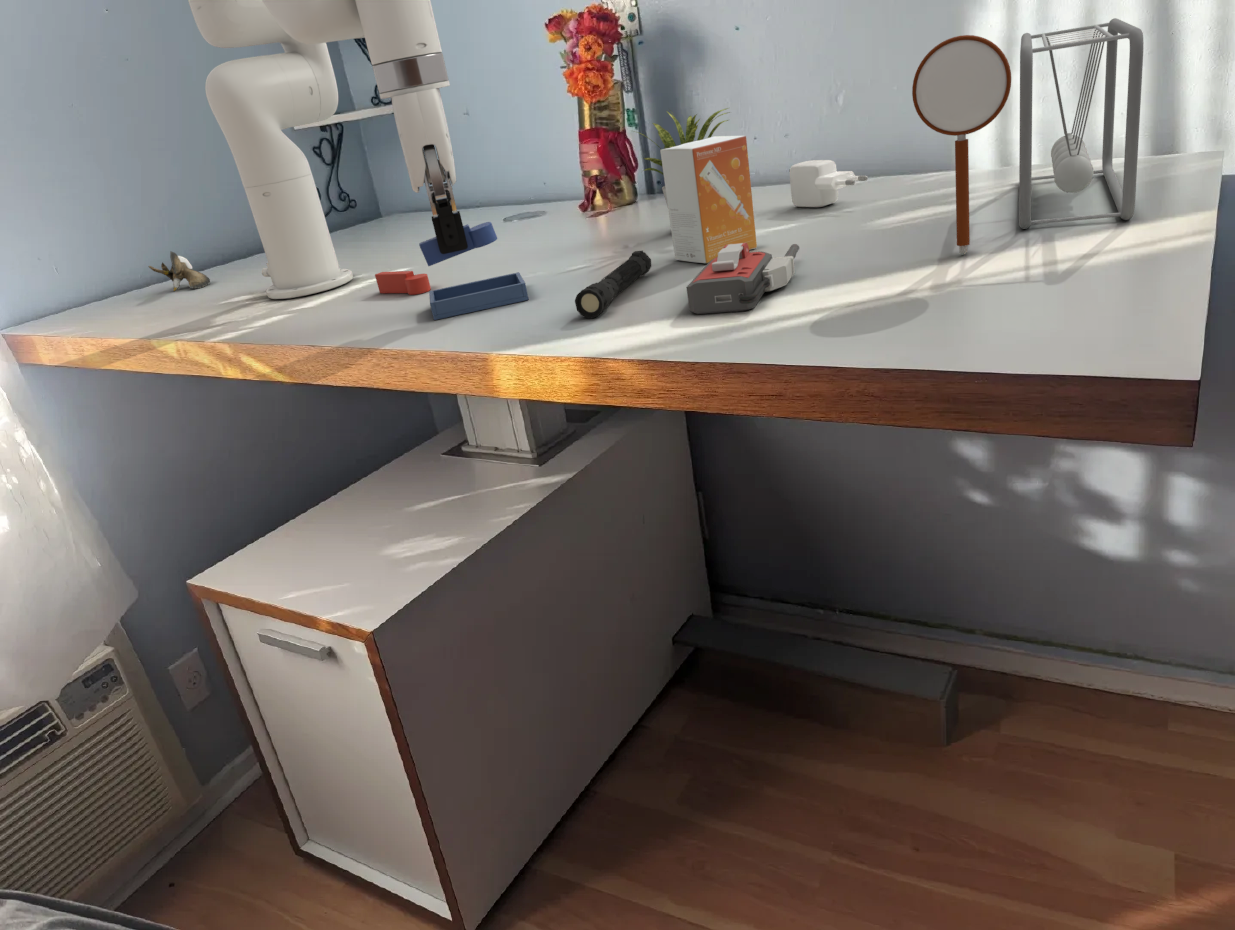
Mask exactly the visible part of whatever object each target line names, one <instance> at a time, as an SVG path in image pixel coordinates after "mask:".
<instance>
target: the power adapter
mask: <svg viewBox="0 0 1235 930" xmlns="http://www.w3.org/2000/svg"><path fill="white" fill-rule="evenodd" d="M868 179H869V177H868V175H856V174H855V173H854V171H852V170H838V169H837V164H836V162H835V161H834V160H831V159H817V160H816V159H815V160H814V159H811V160H805V161H801V162H798V163H794V164H793V165H791V166H790V168H789V184H790V195H791V200H792V201H791V202H792V204H793V205H794V206H795V207H797V208H822V207H826V206H829V205H832V204H834V203H836V202H837V201H838V199H839V190H840V189H842V188H846V187H850V186H854V185H855V184H856V182H866V181H868Z"/></svg>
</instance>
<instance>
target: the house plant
mask: <svg viewBox="0 0 1235 930" xmlns="http://www.w3.org/2000/svg"><path fill="white" fill-rule="evenodd" d="M728 109H729V107H727V108H723V109H720V110H717V111H715V112H714V113H712V114H711V115H710V116H709V117H708V118H707V119H706V120H705V122H704V123H703V125H702V127H701V128H700V130H699V133H698V136H697V139H696V141H698V140H703V139H705V137H706V135H707V132H708V130H709V127H710V126H711V124H712V123H713V121H714V120H716V119H717V118H719V117H721V116H723V115H727V114H730V113H731V111H729V112H724V113H721V112H723V111H726V110H728ZM668 110H669V111H670V112H671V113H670V112H669V111H667V114H668V115H669V116H670V117H671V118H672V120H673V122H674V123H675V126H676V129H677V133H678V137H679V141H680V142H679V143H680V145H682V144H685V143H689V142H694V141H695V138H696V131H697V129H698V127H699V126H698V125H699V124H698V123H699V121H700V119H701V118H698V120H697V121H695V120H696V117H697V114H695V115H693V116H692V115H689V116H688V118H687V119H686V129H685V133H684V130H683V127H682V125H681V124H680V122H679V120H678V119H677V118H676V116H675V115H674V113H673V112H672V110H671V109H670V108H669V107H668ZM720 113H721V114H720ZM718 114H719V115H718ZM728 121H729V119H726V120H722V121H719V122H718V123H716V125H714V127H713V128H712V129H711V131H710V132H709V134H708V136H707V138H710V137H713V135H714V133H715V131H716V130H717V129H718V127H720V125H722V124H723V123H725V122H728ZM652 125H653V126H654V128H656V131H657V133H658V136H659V138H660V141H661V143H663V145H664V147H663V148H662V147H660V146H659V145H658V144H657V143H656V142H655V141H654V140H652V139H651V138H650V137H648V136H646V135H645V134H643V133H641V132H638V131H633V130H632V132H633V133H634V132H635V133H638V134H640V135H641V136H643V137H646V138H647V139H649V140H650V141H651V142H652V143H653V144H654V145H656V146H657V147H658V148H659V149H660V150H662V149H666V148H670V147H675V146H677V145H676V142H675V140H674V138H673V137H672V135H671V133H670V132H669V131H668V130H666V129H665V128H663V127H662V126H661V125H660V124H658V123H654V122H652ZM642 159H644V160H646V161H650V162H651V163H653V164H655V165H658V166H660V167H662V168H663V166H662V159H661V158H660V159H659V158H655V157H644V158H642ZM643 171H653V172H657V173H659V174H661V175H662V176H664V174H663V171H661V170H659V169H657V168H654V167H647V168H645V169H643V170H642V172H643ZM661 190H662V193H663V196H664V200H665V203H666V206H667V208H668V203H667V195H666V188H665V185H663V186H662V187H661Z"/></svg>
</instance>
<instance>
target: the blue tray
mask: <svg viewBox="0 0 1235 930" xmlns="http://www.w3.org/2000/svg"><path fill="white" fill-rule="evenodd" d="M428 294H429V306H430V310H431V314H432V317H433V318H432V319H433V320H434V321H436V320H437V321H438V320H443V319H446V318H451V317H455V316H460V315H464V314H469V313H474V312H479V311H484V310H488V309H493V308H497V307H502V306H507V305H513V304H516V303H521V302H526V301H529V295H528V290H527V285H526V282H525V280H524V278H523V277H522V275H521V273H520V272H517V271H516V272H512V273H507V274H503V275H499V276H495V277H488V278H485V279H480V280H475V281H471V282H465V283H461V284H456V285H452V286H447V287H441V288H437V289H433V290H432V289H431V290H430V291H428Z"/></svg>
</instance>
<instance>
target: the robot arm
mask: <svg viewBox="0 0 1235 930" xmlns="http://www.w3.org/2000/svg"><path fill="white" fill-rule="evenodd" d="M187 1H188V5H189V7H190V11H191V14H192V16H193V19H194V22H195V25H196V27H197V30H198V31H199V33H200V35H201V37H202V38H203V39H204V41H205V42H206V43H207V44H209V45H210V46H212V47H215V48H222V49H234V48H236V49H237V48H246V47H255V46H261V45H269V44H270V45H271V44H277V43H278V44H280V46H281V47H282V49H283V51H284V52H280V53H274V54H264V55H257V56H249V57H242V58H236V59H232V60H228V61H225V62H222V63H220V64H218V65H216V66H215V67H213V68H212V69H211V71H210V72H209V73H208V75H207V76H206V80H205V84H204V87H205V89H204V90H205V97H206V99H207V102H208V105H209V108H210V109H211V113H212V114H213V116H214V118H215V120H216V122H217V124H218V126H219V128H220V130H221V132H222V134H223V136H224V138H225V140H226V143H227V144H228V147H229V149H230V153H231V154H232V158H233V159H234V162H235V166H236V169H237V172H238V174H239V177H240V180H241V183H242V187H243V189H244V192H245V195H246V198H247V202H248V205H249V207H250V210H251V213H252V216H253V220H254V223H255V227H256V230H257V232H258V235H259V238H260V241H261V245H262V248H263V250H264V254H265V257H266V260H267V262H266V267H263V268H262V269H261V275H262V276H263V277H265V278H270V279H271V283H272V285H270V286H269V287H267V288H266V290H265V292H266V295H267V298H269V299H272V300H284V299H285V300H286V299H294V298H300V297H305V296H310V295H314V294H317V293H322V292H325V291H328V290H332V289H335V288H338V287H340V286H343V285H345V284H348V283H349V282H351V281H352V280H353V278H354V275H353V271H352V270H351V269H348V268H340V264H339V261H338V257H337V254H336V251H335V248H334V247H335V246H334V244H333V239H332V237H331V233H330V230H329V227H328V223H327V220H326V216H325V212H324V210H323V206H322V202H321V200H320V197H319V193H318V189H317V185H316V182H315V178H314V176H313V172H312V170H311V166H310V163H309V161H308V159H307V156H306V155H305V153H304V152H303V150H301V148H300V147H299V146H297V144H296V143H295V142H293V141H292V139H290V138H289V137H288V136H287V134H285V133H284V132H283V131H282V130H287V129H289V128H295V127H300V126H304V125H310V124H314V123H319V122H323V121H326V120H328V119H330V118H332V117H333V116H334V115H335V113H336V112H337V110H338V106H339V90H338V85H337V80H336V79H337V78H336V75H335V70H334V68H333V67H334V66H333V63H332V60H331V56H330V53H329V48H328V45H327V43H333V42H339V41H346V40H347V41H348V40H354V39H364V40H365V44H366V48H367V52H368V56H369V60H370V63H371V66H372V70H373V75H374V77H375V78H374V79H375V82H376V86H377V89H378V93H379V98H380V100H385V99H389V98H390V99H391V105H392V112H393V117H394V120H395V124H396V125H395V126H396V130H397V135H398V138H399V142H400V145H401V149H402V153H403V158H404V162H405V166H406V171H407V173H408V177H409V182H410V185H411V189H412V191H413V192H414V193H417V194H419V193H420V188H422V187H424V185H425V190H426V194H427V198H428V201H429V205H430V209H431V213H432V216H431V222H432V226H433V230H434V234H435V237H436V238H437V242H438V246H439V250H440V253H441V254H447V253H451V252H456V251H461V250H465V249H467V248H468V245H467V240H466V236H465V232H464V228H463V226H464V223H463V220H462V216H461V212H460V210H458V208H457V204H456V201H455V200H456V199H455V195H454V192H453V186H454V185H455V184H456V183H457V174H456V164H455V157H454V151H453V146H452V141H451V140H452V139H451V135H450V131H449V130H450V129H449V126H448V121H447V116H446V113H445V108H444V103H443V99H442V95H441V91H440V89H442V88H446V87H447V88H448V87H451V84H450V80H449V76H448V75H449V74H448V70H447V67H446V62H445V58H444V53H443V50H442V46H441V41H440V37H439V32H438V27H437V22H436V19H435V15H434V10H433V5H432V1H431V0H187Z"/></svg>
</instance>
